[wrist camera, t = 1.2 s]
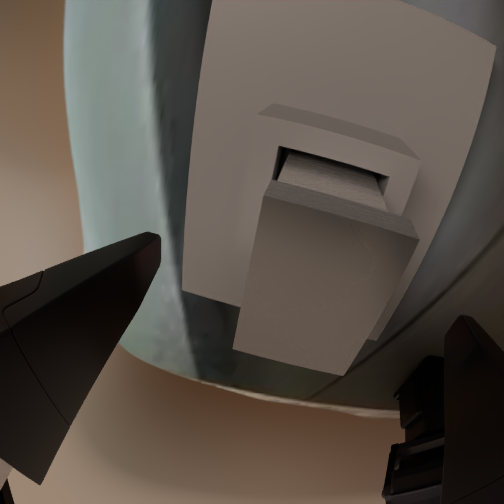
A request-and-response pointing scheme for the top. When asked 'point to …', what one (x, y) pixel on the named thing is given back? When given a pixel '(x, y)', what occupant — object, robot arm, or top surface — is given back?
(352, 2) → the jack stand base
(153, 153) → the top surface
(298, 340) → the grey-brown stepped block
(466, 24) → the top surface
